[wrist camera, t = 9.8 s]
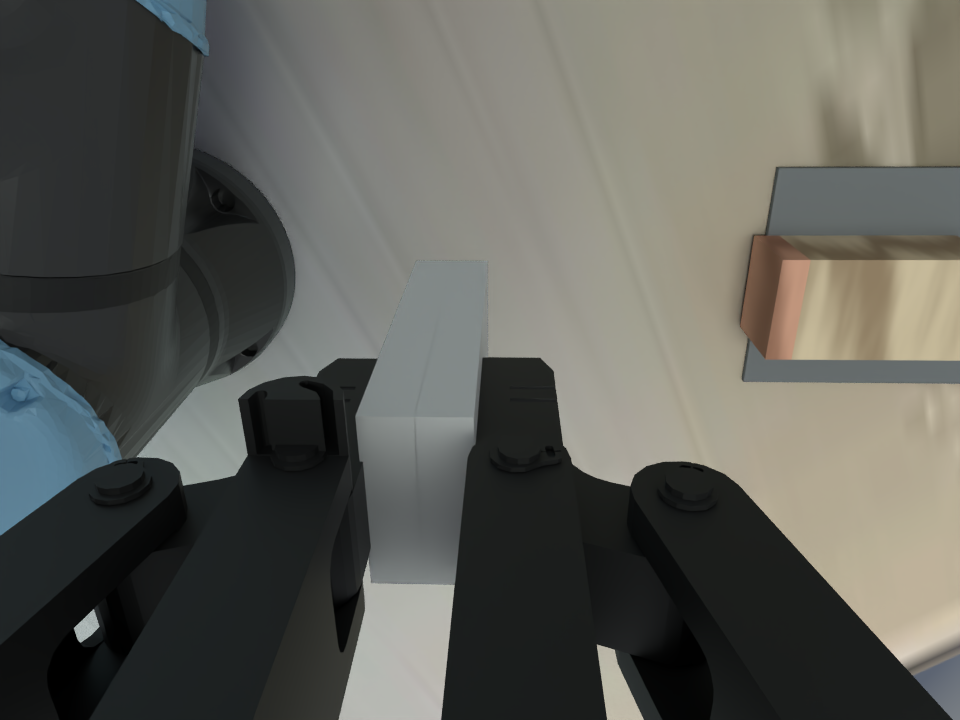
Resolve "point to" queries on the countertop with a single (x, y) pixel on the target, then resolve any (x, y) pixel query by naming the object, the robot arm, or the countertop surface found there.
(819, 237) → the oak block
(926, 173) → the mat
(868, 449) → the countertop surface
